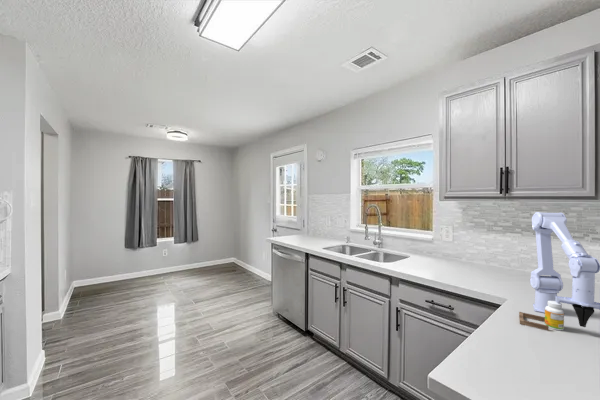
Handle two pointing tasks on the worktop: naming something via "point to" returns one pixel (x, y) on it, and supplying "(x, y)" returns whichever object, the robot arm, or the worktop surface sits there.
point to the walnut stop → (532, 324)
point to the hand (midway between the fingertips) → (582, 325)
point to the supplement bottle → (554, 315)
